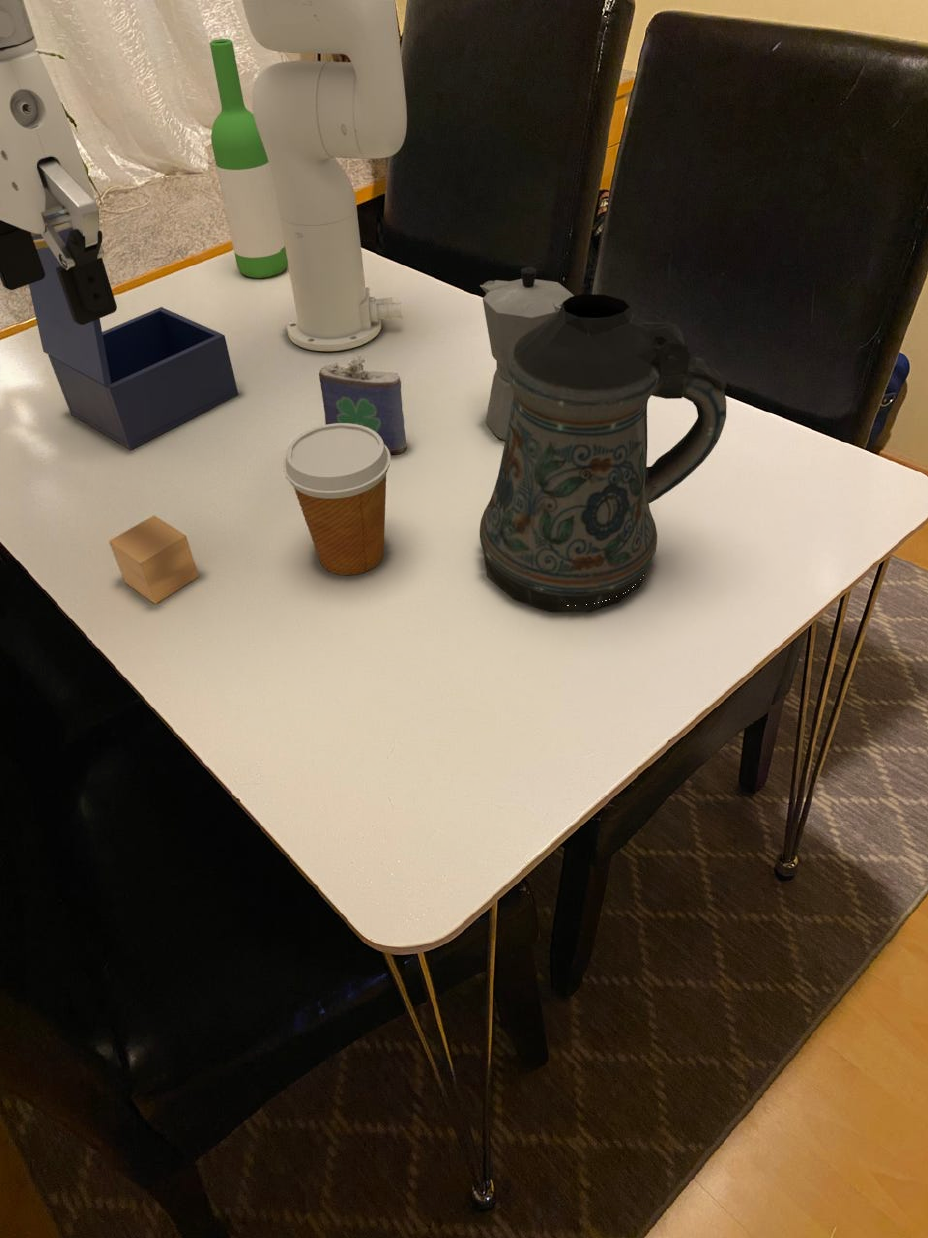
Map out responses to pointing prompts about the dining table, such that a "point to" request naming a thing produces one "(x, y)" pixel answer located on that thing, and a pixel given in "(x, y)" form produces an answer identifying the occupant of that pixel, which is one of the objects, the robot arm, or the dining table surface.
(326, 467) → the disposable coffee cup
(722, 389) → the beer stein
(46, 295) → the lid
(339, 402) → the flask
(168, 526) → the block
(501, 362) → the coffeepot
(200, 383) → the chest
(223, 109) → the wine bottle
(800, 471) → the dining table surface
